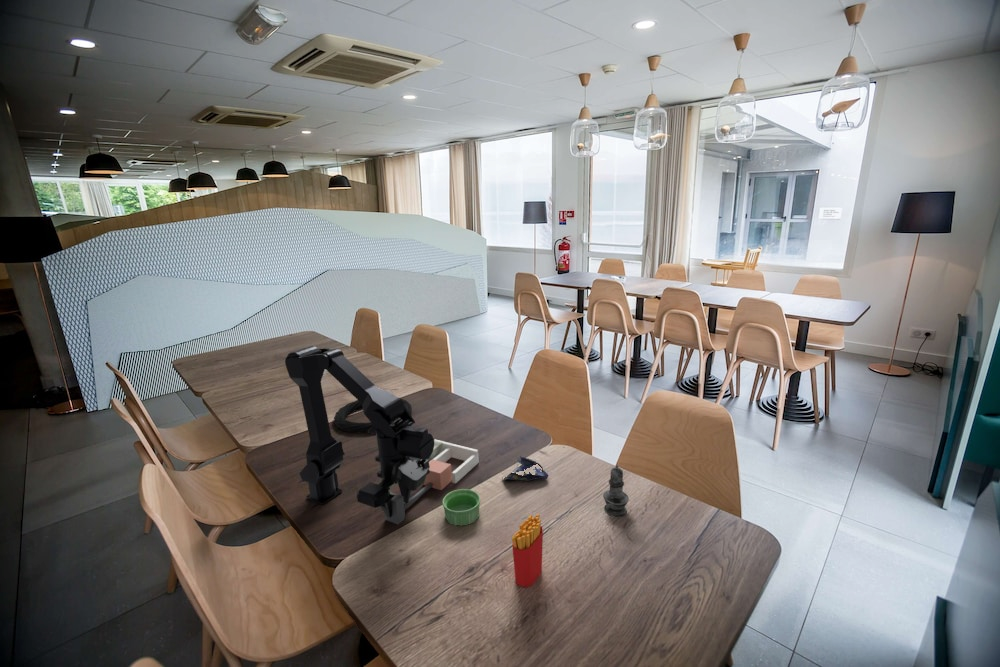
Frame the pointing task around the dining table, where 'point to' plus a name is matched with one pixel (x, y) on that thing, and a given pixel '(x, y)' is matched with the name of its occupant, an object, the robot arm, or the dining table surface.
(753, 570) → the dining table surface
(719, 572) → the dining table surface
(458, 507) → the ramekin
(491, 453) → the dining table surface
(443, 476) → the tethered block
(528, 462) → the snack package
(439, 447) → the sage block
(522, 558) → the french fries
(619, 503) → the dark chess piece
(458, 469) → the lane rack
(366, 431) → the cable lock
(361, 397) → the robot arm
